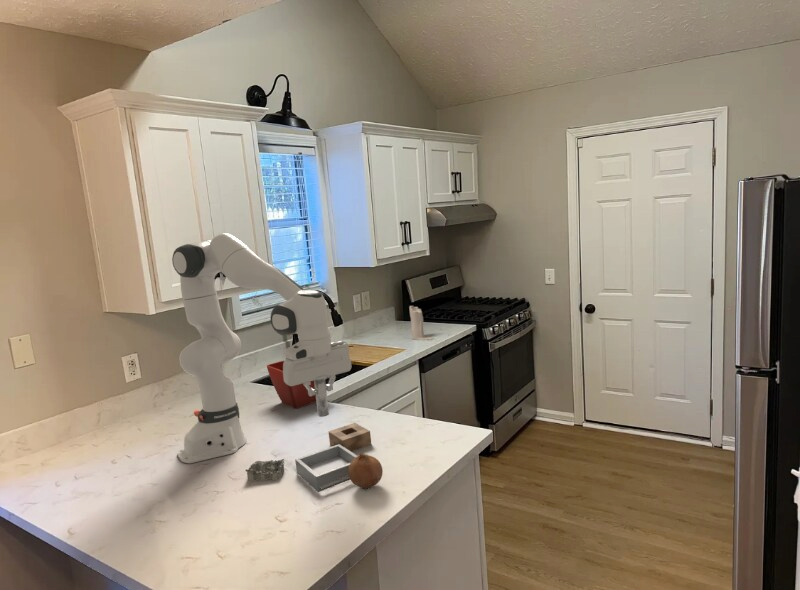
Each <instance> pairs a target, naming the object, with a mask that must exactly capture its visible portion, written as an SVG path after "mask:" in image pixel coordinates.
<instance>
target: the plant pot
mask: <svg viewBox="0 0 800 590" xmlns="http://www.w3.org/2000/svg"><path fill="white" fill-rule="evenodd" d="M284 361H285V359H283V360H281V361H277V362H273V363H268V364H267V365H266V369H267V371H268V374H269V378H270V380H271V383H272V385H273V387H274V389H275V392H276V394H277V396H278V398H279V399H280V401H281V403H283V404H284V405H287V406H289V407H290V408H293V409H300V408H302V407H306V406H308V405H312V404H313V403H317V402H316V393H315V395H314V396H309V395H308V390H307V389H306V387H305V386H304V385H303V383H302V384H298V385H295V386H289V385H287V384H286V383H285V382H284V378H283V363H284ZM325 382H327V379H325ZM310 383H311V385H309V386H310V388H313V389H315V385H314V381H310Z"/></svg>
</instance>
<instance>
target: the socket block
mask: <svg viewBox="0 0 800 590" xmlns="http://www.w3.org/2000/svg"><path fill="white" fill-rule="evenodd" d="M328 439H329V440H328V442H329V445H330V447H332V446H335V445H338V444H340V445H342V446H343V447H345V448H346V449H348V450H349V451H351V452H352V453H353V452H354V451H357V450H360V449H363V448H365V447H368V446H371V445H372V437H371V431H370V430H369V429H368V428H365V427H363V426H362V425H360V424H358V423H356V422H353V423H350V424H346V425H344V426H342V427H338V428H334V429H331V430H329V431H328Z"/></svg>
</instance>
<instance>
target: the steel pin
mask: <svg viewBox="0 0 800 590" xmlns="http://www.w3.org/2000/svg"><path fill="white" fill-rule="evenodd" d="M325 379H326V380H327V379H329V378H328V377H327V375H324V376H321V377H317V378H316V380H314V385H315V393H316V402H315V403H316V410H317V416H318V417H321V418H322V417H327V416H329V415H330V411H329V403H328V402H329V400H328V393H327V392H328V391H327V390H326V384H327V383H326V382H327V381H326V382H325Z"/></svg>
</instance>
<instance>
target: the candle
mask: <svg viewBox="0 0 800 590" xmlns="http://www.w3.org/2000/svg"><path fill="white" fill-rule="evenodd" d="M409 317H410V324H411V325H410V326H411V328H410V329H411V339H412V340H419V341H429V340H430V341H431V340H434V339H435V338H434V337H431V336H425V332H424V315H423V311H422V308H419V307H418V306H414V305H409Z"/></svg>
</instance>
